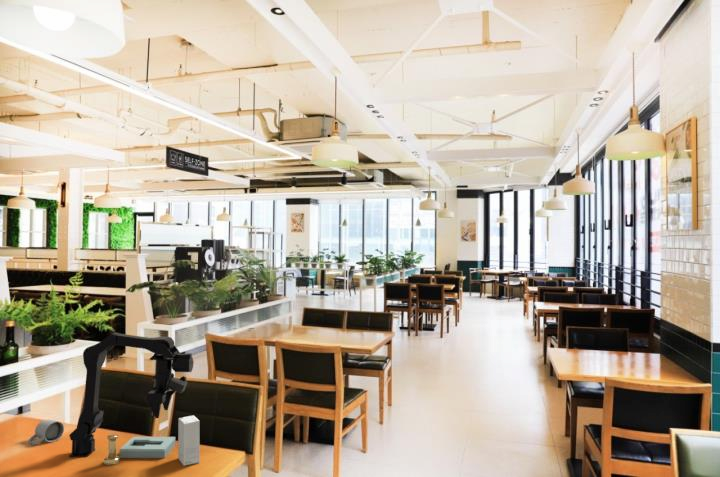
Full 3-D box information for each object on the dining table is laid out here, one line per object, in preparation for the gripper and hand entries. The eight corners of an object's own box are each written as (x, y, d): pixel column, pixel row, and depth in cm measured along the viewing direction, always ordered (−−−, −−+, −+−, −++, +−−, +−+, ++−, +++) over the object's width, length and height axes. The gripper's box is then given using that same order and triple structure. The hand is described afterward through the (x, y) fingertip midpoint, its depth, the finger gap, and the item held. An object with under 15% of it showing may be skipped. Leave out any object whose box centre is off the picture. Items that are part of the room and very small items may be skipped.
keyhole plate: (119, 457, 177) (119, 449, 178) (133, 445, 189) (133, 436, 189) (164, 458, 178) (164, 449, 178) (175, 445, 190) (175, 436, 190)
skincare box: (199, 463, 175) (201, 420, 175) (182, 466, 172) (183, 423, 172) (193, 454, 182) (194, 414, 182) (176, 458, 179) (178, 416, 179)
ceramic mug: (52, 434, 198) (52, 415, 198) (64, 438, 194) (64, 419, 194) (23, 443, 189) (24, 423, 189) (35, 448, 185) (36, 427, 185)
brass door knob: (101, 465, 171) (102, 438, 171) (107, 459, 176) (108, 433, 176) (115, 465, 171) (116, 438, 171) (121, 459, 176) (122, 433, 176)
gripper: (177, 378, 174) (175, 422, 173) (192, 366, 193) (191, 406, 192) (145, 377, 174) (143, 422, 173) (164, 365, 192) (162, 406, 192)
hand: (161, 414), depth 182 cm, fingers open, 9 cm apart
